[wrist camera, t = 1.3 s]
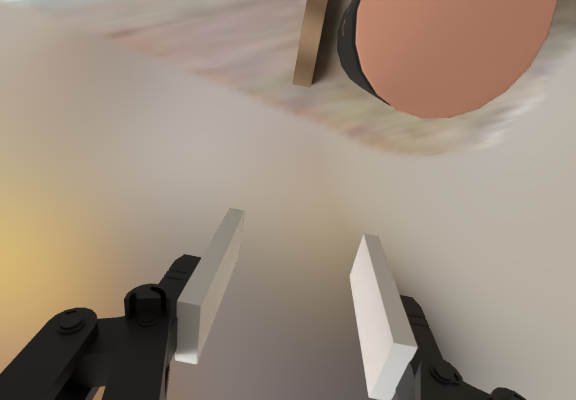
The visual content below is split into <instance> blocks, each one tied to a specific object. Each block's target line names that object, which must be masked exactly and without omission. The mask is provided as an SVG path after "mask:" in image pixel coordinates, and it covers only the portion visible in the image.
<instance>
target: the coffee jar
mask: <svg viewBox="0 0 576 400" xmlns="http://www.w3.org/2000/svg"><path fill="white" fill-rule="evenodd" d="M557 1H558V0H352V2H351V3H350V5H349V7H348V8H347V10H346V11H345V13H344V14H343V17H342V21H341V24H340V27H339V30H338V42H337V51H338V54H339V58H340V62H341V66H342V67H343V69H344V70H345V72H346V73H347V75H348V77H349V78H350V79H351V80H352V81H353V82H355V83H356V84H357V85H359V86H360V87H361V88H363V89H364V90H366V91H367V92H369V93H371V94H372V95H374V96H375V97H377V98H378V99H380V100H382V101H383V102H385V103H386V104H388V105H390V106H393V107H394V108H395V109H397V110H398V111H401V112H404V113H407V114H411V115H414V116H417V117H420V118H451V117H454V116H457V115H460V114H464V113H467V112H470V111H473V110H476V109H479V108H481V107H482V106H484V105H485V104H487V103H488V102H490V101H492V100H493V99H495V98H496V97H498V96H499V95H501V94H503V93H504V92H506V91H507V90H508V89H509V88H510V87H511V86H512V85H513V83H514V82H515V81H516V80H517V79H518V78H519V77H520V76H521V75H522V74H523V73H524V72H525V71H526V70H527V69H528V68H529V67H530V65H531V64H532V62H533V60H534V58H535V57H536V55H537V53H538V51H539V50H540V48H541V46H542V45H543V43H544V41H545V39H546V38H547V36H548V33H549V30H550V26H551V22H552V19H553V15H554V12H555V8H556V5H557Z"/></svg>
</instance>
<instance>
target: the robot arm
mask: <svg viewBox="0 0 576 400" xmlns="http://www.w3.org/2000/svg"><path fill="white" fill-rule="evenodd" d="M244 213H245V211H243V210H238V209H233V208H230V209H229V210H228V212H227V214H226V216H225V218H224V219H223V221H222V223H221V225H220V226H219V228H218V230H217V232H216V233H215V235H214V237H213V239H212V240H211V242H210V244H209V246H208V247H207V249H206V251H205V253H204V254H203V256H202V258H201V257H196V256H191V255H186V254H184V255H183V256H181V257H180V258H178V259H177V260H175V261H174V263H173V264H172V265H171V267H170V268H169V271H167V273H166V274H165V275H164V278H162V280H161V281H160V283H159V284H145V285H141V286H138V287H136V288H134V289H132V290H131V291H130V292H128V294H127V295H126V297H125V298H124V306H125V316H123V317H116V318H105V319H104V318H103V319H97V315H96V314H95V312H93V310H91V309H87V308H73V309H69V310H65V311H64V312H61V313H59V314H57V315H55V316H54V317H53V318H52V319H50V320H49V321H48V322H47V323H46V325H44V327H43V328H42V329H41V330H40V331H39V332H38V333H37V334H36V336H34V338H33V339H32V340H31V341H30V342H29V343H28V344H27V345H26V346H25V348H23V350H22V351H21V352H20V353H19V354H18V355H17V356H16V357H15V358H14V359H13V361H12V362H11V363H10V364H9V365H8V366H7V367H6V368H5V369H4V370H3V372H2V373H1V374H0V400H92V399H93V398H94V396H95V394H96V392H97V391H98V389H99V387H102V386H106V387H105V390H104V394H103V397H102V400H166V398H167V389H168V381H169V371H170V361H171V359H172V357H173V355H174V353H175V351H176V354H175V356H176V357H175V360H177V361H183V362H188V363H193V364H197V362H198V360H199V357H200V355H201V352H202V350H203V347H204V344H205V342H206V339H207V336H208V334H209V331H210V329H211V326H212V323H213V321H214V319H215V316H216V313H217V311H218V308H219V305H220V303H221V300H222V298H223V295H224V293H225V290H226V288H227V285H228V282H229V280H230V277H231V274H232V272H233V269H234V267H235V264H236V261H237V259H238V256H239V252H240V244H241V236H242V228H243V221H244ZM350 281H351V287H352V294H353V300H354V305H355V313H356V318H357V325H358V332H359V338H360V344H361V351H362V357H363V363H364V370H365V376H366V382H367V389H368V395H369V398H375V399H379V400H391V399H392V397H393V395H394V394H395V392H396V393H397V397H398V400H526V399H525V398H524V397H522V396H521V395H519V394H518V393H516V392H515V391H512V390H509V389H507V388H499V387H498V388H496V389H494V390H493V391H492V393H491V394H488V393H486V392H484V391H482V390H479V389H477V388H475V387H473V386H471V385H469V384H467V383H465V382H464V381H463V379H462V376H461V375H460V374H459V372H458V371H457V370H456V369H455V368H454V367H453V366H452V365H451V364H450V363H449V362H447V361H445V360H443V358H442V355H441V353H440V351H439V349H438V346H437V344H436V341H435V339H434V337H433V334H432V332H431V330H430V328H429V325H428V323H427V320H425V315H424V313H423V311H422V308H421V307H420V306H419V304H418V303H417V302H416V301H415V300H414V299H413V298H412V297H407V296H402V295H399V293H398V290H397V287H396V284H395V282H394V279H393V276H392V273H391V271H390V268H389V265H388V263H387V259H386V256H385V254H384V251H383V248H382V245H381V243H380V240H379V237H378V236H372V235H367V234H363V237H362V240H361V244H360V247H359V250H358V253H357V256H356V259H355V262H354V265H353V268H352V271H351V274H350Z"/></svg>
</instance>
